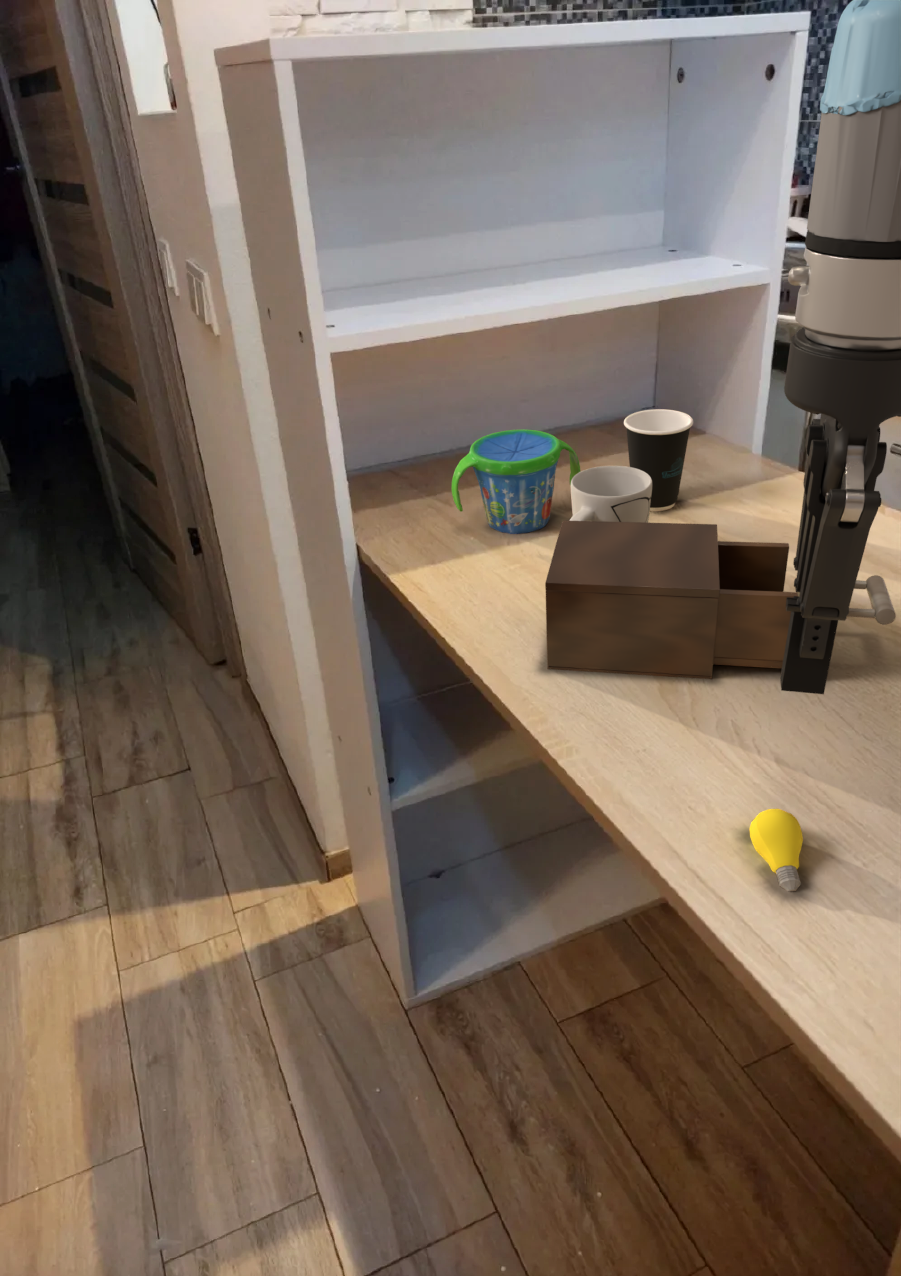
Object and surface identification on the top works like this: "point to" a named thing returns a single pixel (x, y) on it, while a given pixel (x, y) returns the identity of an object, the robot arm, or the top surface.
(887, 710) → the top surface
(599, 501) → the mug
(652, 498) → the dixie cup
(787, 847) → the light bulb
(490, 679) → the top surface
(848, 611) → the robot arm
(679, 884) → the top surface
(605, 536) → the cabinet
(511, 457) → the snack cup
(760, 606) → the drawer
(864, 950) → the top surface
